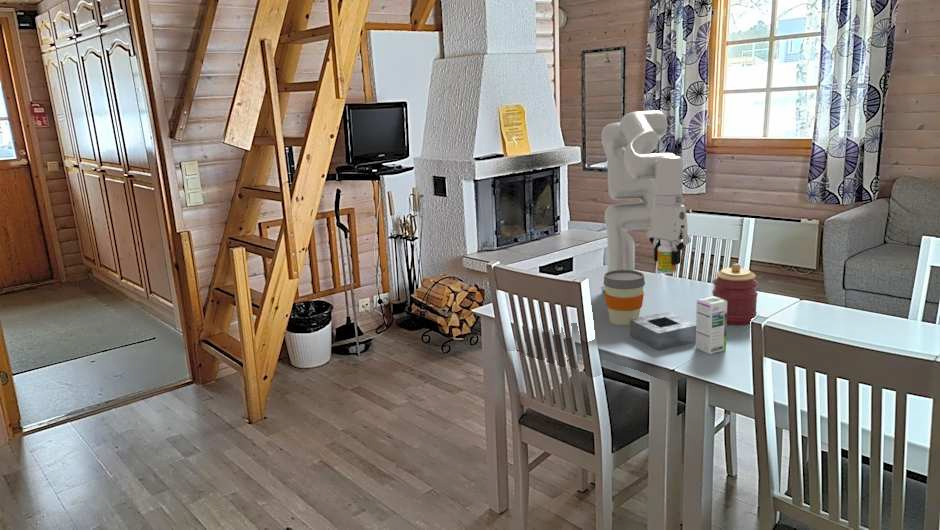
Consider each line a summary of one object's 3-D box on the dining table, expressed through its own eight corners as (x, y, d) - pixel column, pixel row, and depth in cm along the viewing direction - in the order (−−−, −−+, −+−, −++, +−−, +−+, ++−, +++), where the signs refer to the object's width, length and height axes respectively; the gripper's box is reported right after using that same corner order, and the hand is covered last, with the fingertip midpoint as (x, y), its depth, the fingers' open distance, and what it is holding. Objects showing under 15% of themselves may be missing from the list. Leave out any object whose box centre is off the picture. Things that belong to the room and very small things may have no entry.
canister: (705, 321, 205) (707, 266, 200) (718, 309, 215) (721, 256, 210) (749, 328, 197) (752, 271, 192) (761, 315, 207) (764, 261, 202)
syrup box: (710, 354, 180) (712, 304, 176) (694, 347, 185) (696, 298, 181) (726, 350, 182) (728, 300, 178) (710, 343, 187) (712, 294, 183)
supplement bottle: (660, 274, 189) (661, 241, 187) (654, 270, 195) (655, 237, 192) (679, 273, 189) (680, 240, 187) (673, 268, 195) (673, 236, 192)
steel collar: (629, 335, 197) (629, 319, 195) (666, 327, 201) (667, 311, 200) (658, 350, 185) (658, 333, 183) (696, 341, 189) (697, 325, 188)
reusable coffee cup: (650, 317, 211) (650, 272, 207) (636, 329, 201) (636, 282, 197) (613, 312, 218) (612, 268, 214) (597, 323, 208) (597, 277, 204)
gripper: (702, 201, 182) (700, 265, 187) (652, 195, 196) (652, 255, 200) (685, 204, 178) (683, 270, 182) (635, 199, 192) (635, 259, 196)
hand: (667, 261), depth 191 cm, fingers closed on supplement bottle, 5 cm apart
